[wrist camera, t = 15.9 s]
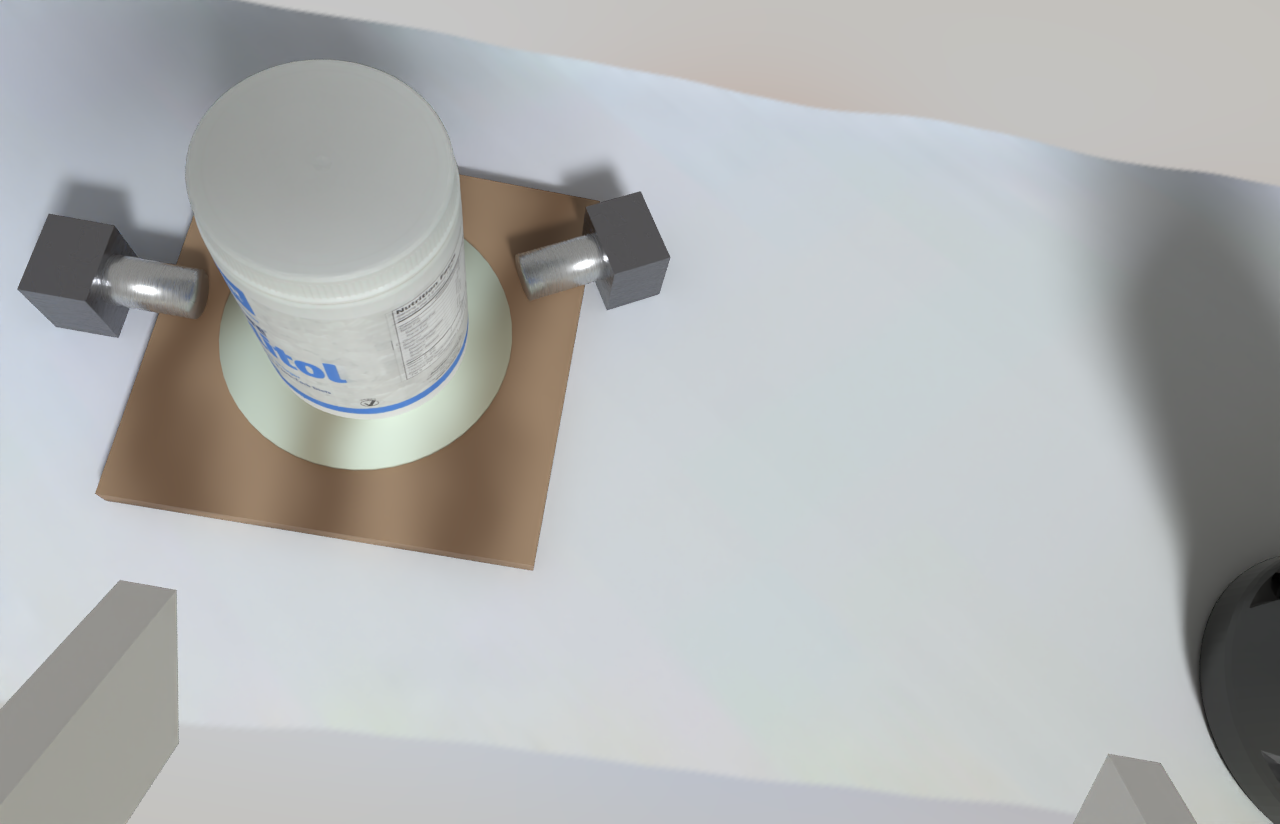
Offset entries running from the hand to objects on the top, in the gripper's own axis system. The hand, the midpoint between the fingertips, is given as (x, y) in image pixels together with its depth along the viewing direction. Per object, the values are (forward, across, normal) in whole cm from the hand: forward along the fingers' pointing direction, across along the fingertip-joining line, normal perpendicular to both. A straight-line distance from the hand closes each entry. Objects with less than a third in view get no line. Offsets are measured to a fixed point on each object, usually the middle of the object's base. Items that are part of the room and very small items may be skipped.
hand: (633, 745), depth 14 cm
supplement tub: (+34, -13, -9) cm, 38 cm away
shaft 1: (+35, -25, -10) cm, 44 cm away
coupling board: (+35, -13, -10) cm, 39 cm away
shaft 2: (+40, -3, -6) cm, 40 cm away
